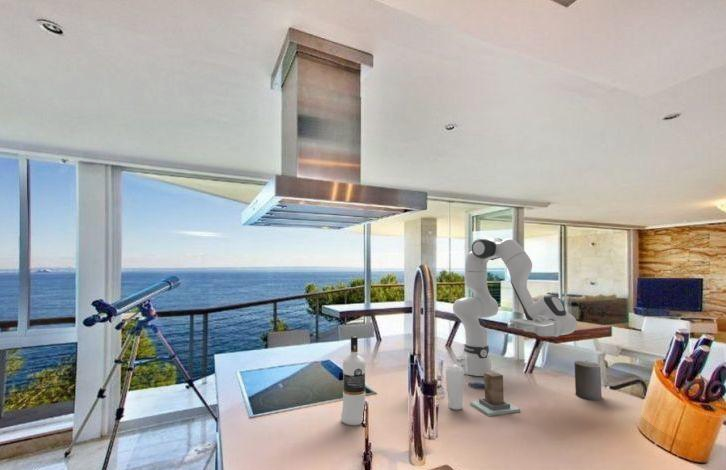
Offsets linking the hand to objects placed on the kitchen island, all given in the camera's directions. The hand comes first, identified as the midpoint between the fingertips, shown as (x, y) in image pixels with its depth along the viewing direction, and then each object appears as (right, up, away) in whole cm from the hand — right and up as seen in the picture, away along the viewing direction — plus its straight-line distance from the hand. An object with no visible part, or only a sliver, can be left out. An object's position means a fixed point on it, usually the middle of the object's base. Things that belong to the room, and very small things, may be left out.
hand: (516, 327), depth 152 cm
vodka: (-68, -29, -21) cm, 76 cm away
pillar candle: (+33, -31, +3) cm, 45 cm away
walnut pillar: (-13, -28, -9) cm, 32 cm away
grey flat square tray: (-13, -29, -10) cm, 33 cm away
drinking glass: (-28, -30, -9) cm, 42 cm away
